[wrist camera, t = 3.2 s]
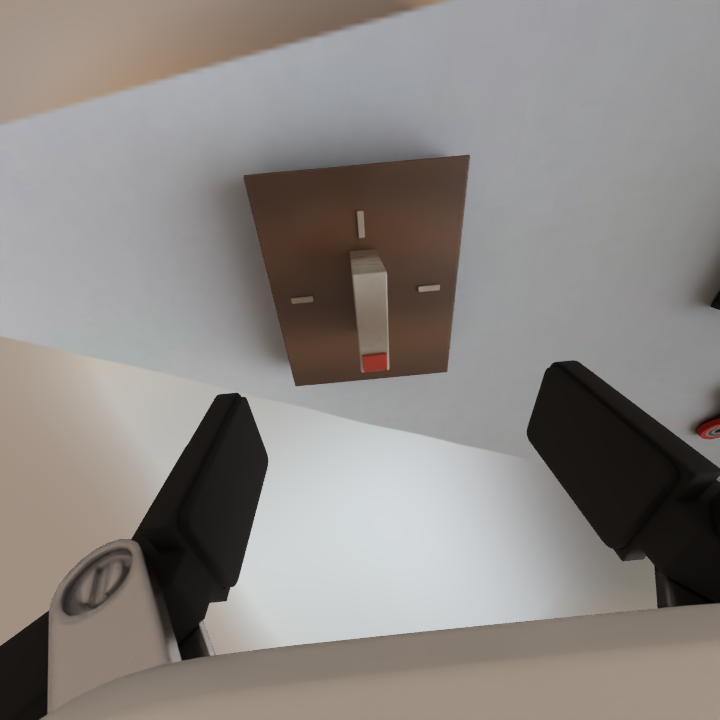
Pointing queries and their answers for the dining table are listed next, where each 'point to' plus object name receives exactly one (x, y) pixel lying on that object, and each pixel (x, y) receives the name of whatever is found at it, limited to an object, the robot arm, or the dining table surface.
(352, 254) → the red-tipped white slab
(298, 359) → the panel
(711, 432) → the fidget spinner
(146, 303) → the dining table surface
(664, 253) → the dining table surface
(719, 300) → the button block
